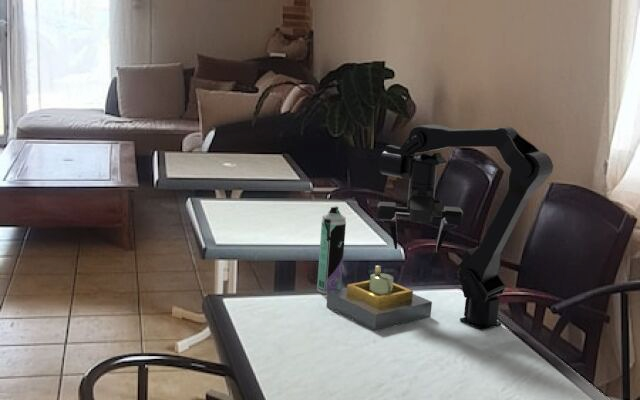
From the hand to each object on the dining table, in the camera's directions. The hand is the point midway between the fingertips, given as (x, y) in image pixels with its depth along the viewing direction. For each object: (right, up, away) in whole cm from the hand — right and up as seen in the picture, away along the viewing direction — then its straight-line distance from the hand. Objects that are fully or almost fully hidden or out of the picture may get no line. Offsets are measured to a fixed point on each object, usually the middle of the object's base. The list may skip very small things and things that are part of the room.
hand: (416, 250), depth 181 cm
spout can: (-9, -13, -5) cm, 17 cm away
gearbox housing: (-9, -13, -5) cm, 17 cm away
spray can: (-19, -10, +7) cm, 23 cm away
